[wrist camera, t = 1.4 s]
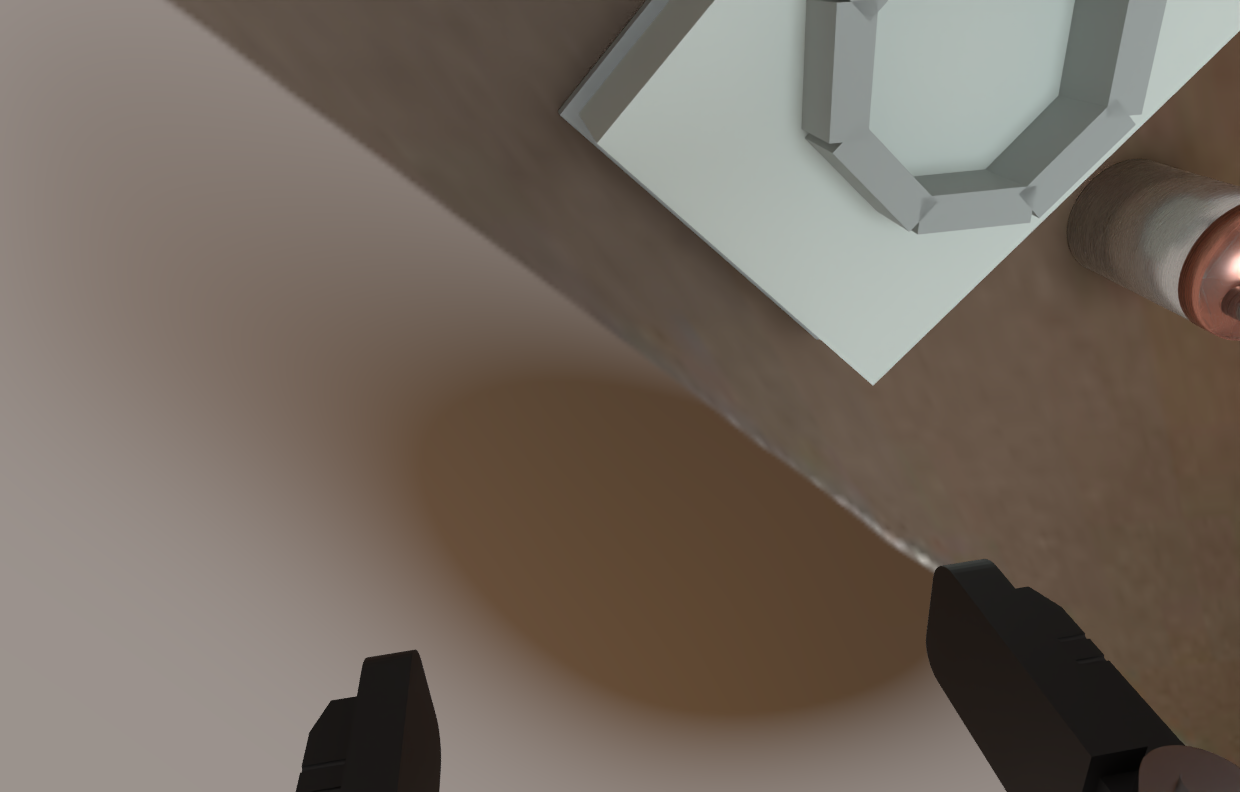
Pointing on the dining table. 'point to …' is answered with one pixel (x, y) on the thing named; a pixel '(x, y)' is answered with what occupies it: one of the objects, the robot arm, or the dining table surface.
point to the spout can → (1164, 239)
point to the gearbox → (881, 136)
